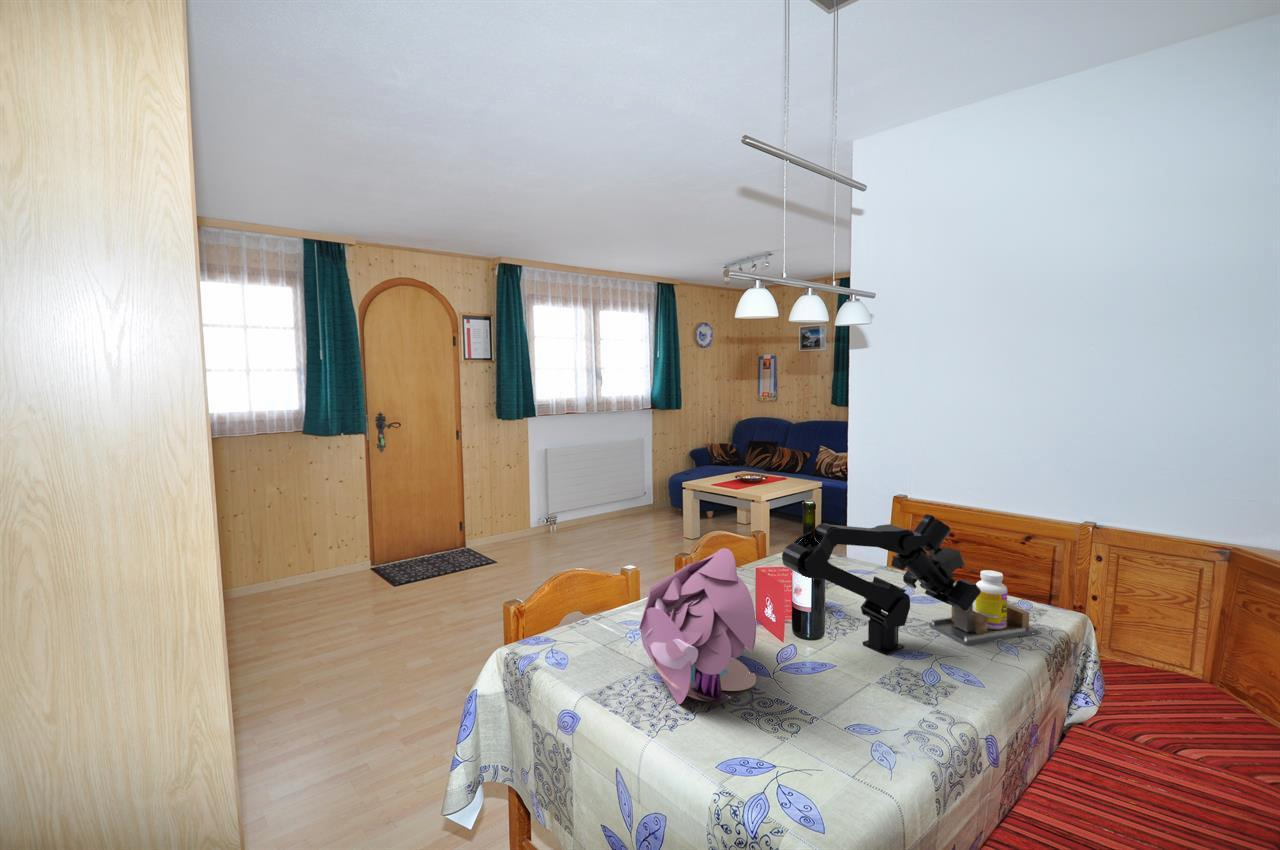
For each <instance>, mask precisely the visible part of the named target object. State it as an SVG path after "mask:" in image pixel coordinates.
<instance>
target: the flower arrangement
mask: <svg viewBox="0 0 1280 850" xmlns="http://www.w3.org/2000/svg"><path fill="white" fill-rule="evenodd" d="M646 599H647V600H646V603H645V606H644V610H643V613H642V617H641V620H640V624H639V627H638V628H639V630H640V635H641V643H642V646H643V649H644V650H645V652H646V654H647V655H648V656H649V658H650V660H651V661H652V663H653V665H654V666H655V668H656V671H658V673H659V675H660V678H661V679H662V680H663V682H664V683H665V686H666V687H667V689H668V690H669V692H670V693H671V696H673V698H674V700H675V701H676V703H677V705H678V704H679V705H681V704H682V703H683V702H684V701H685V699H686V697H691V698H692V699H696V700H700V701H704V702H712V703H726V702H727V701H729V700H730V699H731V698H732V696H729V695H728V694H727V693H726V692H725V691H727V692H737V691H738V692H739V691H745V690H748V689H750V688H751V689H752V687H754V686H755V685H756V683H757V677H756V673H755V672H751V673H749V672H750V671H751V670H750V669H749V668H748V667H747V666H746V665H745V664H744V662H741V661H739V660H738V659H736V658H739V657H741V656H742V655H743V653H744V651H745V649H747V650H748V651H749V652H750V654H753V651H754V648H755V645H756V638H757V637H756V636H757V621H756V620H757V618H756V613H755V612H756V611H755V606H754V602H753V598H752V595H751V592H750V591H749V588H748V587H747V584H746V583H745V582H744V581H743V579H742V578H741V577H740V576H739V575H738V571H737V565H736V559H735V555H734V553H733V552H732V551H731V550H730V549H729V548H725V547H722V548H720V549H718V550H717V551H716V552H714V553H712V554H711V555H709V556H707V557H705V558H703V559H701V560H698V561H694V562H691V563H688V564H687V565H684V566H683V567H681V568H680V569H679V570H677V571H675V572H674V573H672V574H670V575H669V576H667V577H665V578H663V579H662V580H660V581H659V582H657V583H655V584H654V585H652V586H650V587H649V592H648V595H647V598H646ZM748 669H749V670H750V671H749V670H748Z"/></svg>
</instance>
